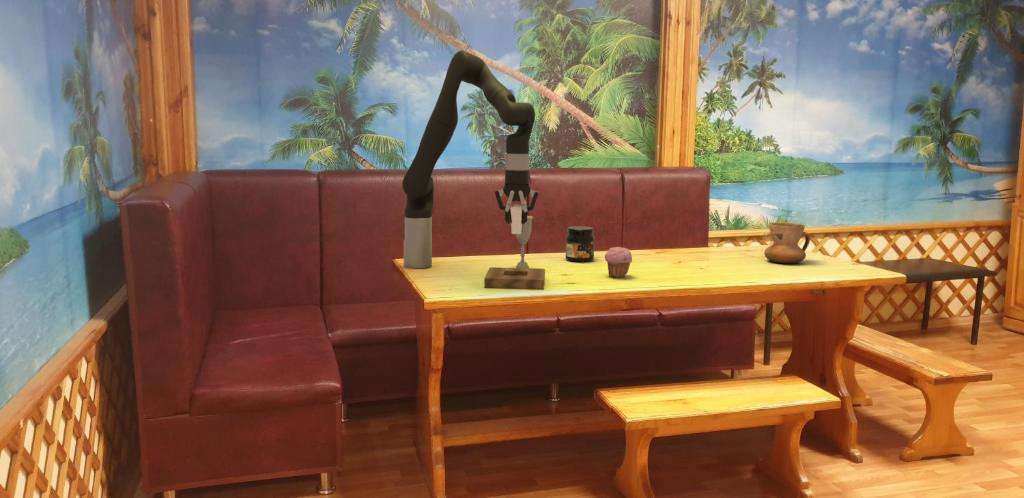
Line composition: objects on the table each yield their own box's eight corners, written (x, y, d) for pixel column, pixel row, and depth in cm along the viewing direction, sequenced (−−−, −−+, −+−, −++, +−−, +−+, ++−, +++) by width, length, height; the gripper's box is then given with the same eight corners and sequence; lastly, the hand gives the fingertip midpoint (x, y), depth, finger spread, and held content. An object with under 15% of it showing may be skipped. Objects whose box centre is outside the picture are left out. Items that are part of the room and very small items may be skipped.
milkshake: (506, 232, 251) (505, 201, 249) (523, 232, 251) (522, 200, 249) (507, 234, 246) (506, 202, 245) (524, 234, 247) (524, 202, 245)
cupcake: (599, 275, 265) (600, 245, 263) (620, 273, 269) (621, 244, 267) (615, 280, 257) (616, 249, 255) (636, 278, 261) (638, 247, 260)
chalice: (530, 271, 270) (531, 218, 267) (510, 270, 271) (511, 217, 268) (534, 267, 277) (535, 216, 274) (514, 266, 278) (515, 215, 275)
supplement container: (564, 262, 288) (565, 229, 286) (566, 257, 298) (566, 225, 296) (593, 263, 286) (594, 230, 284) (594, 258, 297) (595, 226, 295)
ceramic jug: (771, 266, 286) (774, 226, 284) (754, 258, 300) (756, 221, 298) (818, 265, 289) (821, 226, 286) (799, 258, 303) (802, 221, 300)
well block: (484, 287, 243) (484, 278, 242) (489, 276, 261) (489, 267, 260) (543, 289, 242) (543, 279, 241) (544, 277, 259) (544, 268, 259)
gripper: (493, 168, 242) (492, 224, 245) (539, 169, 241) (538, 225, 244) (495, 167, 249) (494, 221, 252) (540, 168, 249) (539, 222, 251)
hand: (516, 223), depth 248 cm, fingers closed on milkshake, 4 cm apart
